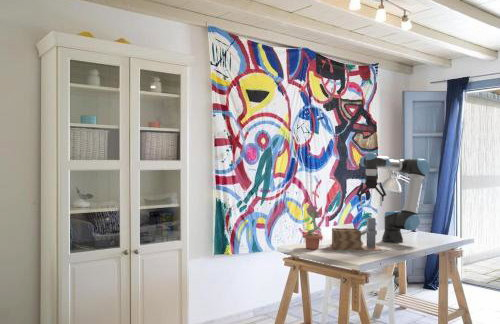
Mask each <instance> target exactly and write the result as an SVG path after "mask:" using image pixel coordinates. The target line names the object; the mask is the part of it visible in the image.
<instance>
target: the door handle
mask: <svg viewBox="0 0 500 324" xmlns="http://www.w3.org/2000/svg"><path fill="white" fill-rule="evenodd" d="M360 231H361V237H362V236H364V235H365V234H367V232H366V229H364V230H363V229H362V230H360ZM361 246H364V242H363V240H361Z"/></svg>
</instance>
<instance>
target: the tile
mask: <svg viewBox="0 0 500 324" xmlns="http://www.w3.org/2000/svg"><path fill="white" fill-rule="evenodd" d="M361 248H362V251H367V252H369V251H370V252H382V251H383V249H382V248H381V247H380V246H378V245H375V248H367V245H361Z"/></svg>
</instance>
